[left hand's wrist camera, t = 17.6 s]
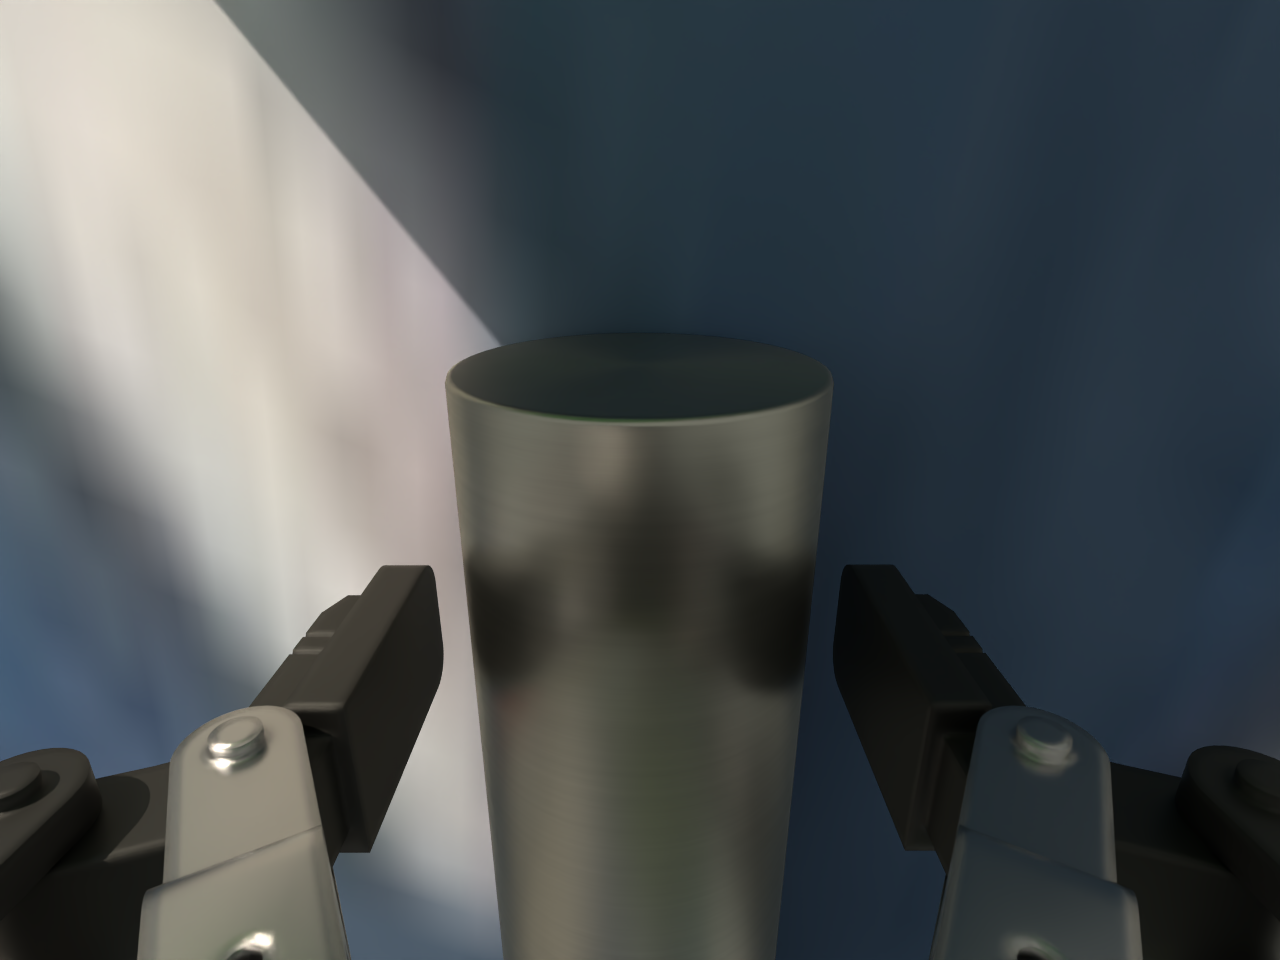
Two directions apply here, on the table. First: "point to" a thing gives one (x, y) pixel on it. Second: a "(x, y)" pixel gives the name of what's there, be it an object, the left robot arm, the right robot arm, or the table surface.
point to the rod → (639, 632)
